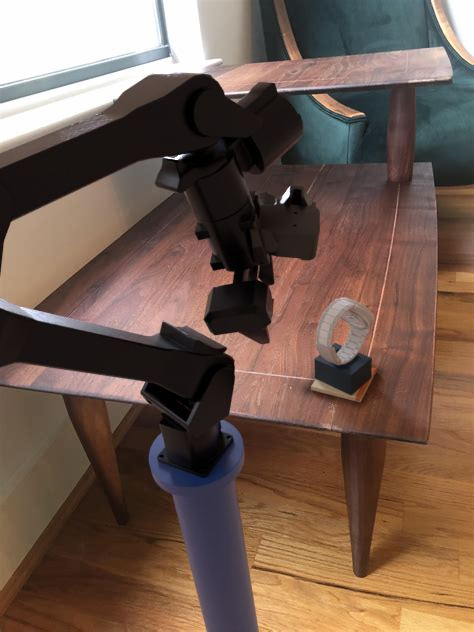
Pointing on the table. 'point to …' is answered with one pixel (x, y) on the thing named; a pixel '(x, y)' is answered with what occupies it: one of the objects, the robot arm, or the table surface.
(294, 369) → the table surface
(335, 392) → the mat
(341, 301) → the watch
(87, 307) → the table surface
